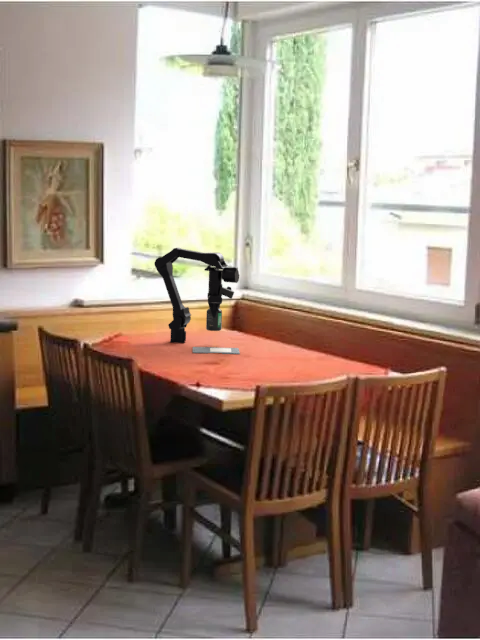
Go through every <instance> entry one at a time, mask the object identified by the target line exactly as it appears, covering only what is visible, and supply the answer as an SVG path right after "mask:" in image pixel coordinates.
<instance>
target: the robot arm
mask: <svg viewBox="0 0 480 640" xmlns="http://www.w3.org/2000/svg"><path fill="white" fill-rule="evenodd" d="M179 258H181V259H188V260H193V261H197V262H201V263H204V264H205V265H207V267H205V268H204V271H205V272H208V289H207V290H208V291H207V303H208V308H209V307H210V310H211V313H212V316H213V318H215V317H216V313H217V309H218V306H219V305H220V306H221V305H222V303H223V296H224V297H227V298H228V299H230V300H232V299H233V296H234V295H235V291H234V290H232V287H231V286H227V287H225V286H223V283H222V282H225V283H232V284H234V283H235V284H238V283H239V280H240V273H239V270H238V269H239V268H238V266H235V267H234V266H232V267H230V266H228V264H227V263H226V261H225V257H224V255H223V254H222V253H221V252H201V251H197V250H191V249H184V248H182V247H175V248H172V249H171V251H169V252H167V253H166V254H164V255H163V256H160V257H157V258H156V259H155V260H154V267H155V269H156V271H157V273H158V274H159V276H161V277H162V279H163V283H164V285H165V289H166V291H167V294H168V297H169V301H170V303H171V306H172V318H173V319H172V320H171V322H170V323H168V325H167V326H168V328H169V330H170V339H169V342H170V343H173V344H175V343H179V344H184V343H185V342H186V341H187V331H186V328H187V327H188V324H189V323H190V322H191V320H192V318H191V316H192V314H191V311H190V308H189V306H184V305H183V302H182V298H181V296H180V293H179V290H178V287H177V286H178V285H177V284H176V281H175V277H174V275H173V274H174V273H173V272H174V271H173V270H174V267H173V263H175V262H176V261H177V260H178V259H179Z"/></svg>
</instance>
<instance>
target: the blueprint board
mask: <svg viewBox="0 0 480 640" xmlns="http://www.w3.org/2000/svg"><path fill="white" fill-rule="evenodd" d="M208 353H222V354H221V355H240V354H241V352H240V348H239V347H217V346H216V347H215V346H213V347H212V346H210V347H209V346H192V354H208Z"/></svg>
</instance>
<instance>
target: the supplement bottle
mask: <svg viewBox="0 0 480 640" xmlns="http://www.w3.org/2000/svg"><path fill="white" fill-rule="evenodd" d="M205 319H206V320H205V321H206V323H205V326H206V327H205V329H206V330H207V331H209V332H210V331H211V332H218V331H219V332H220V331H222V329H223V328H222V327H223V326H222V324H223V323H222V322H223V320H222V319H223V311H222V309H221V304H220V305H219V306H218V309H217V313H216V317H215V318H213V316H212V313H211V310H210V307H209V306H208V309H207V310H206V318H205Z"/></svg>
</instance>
